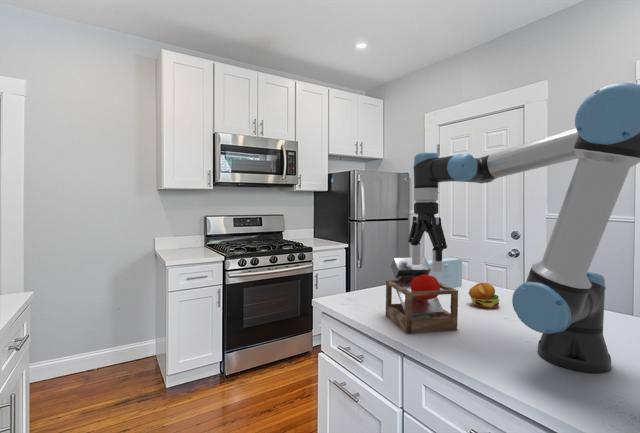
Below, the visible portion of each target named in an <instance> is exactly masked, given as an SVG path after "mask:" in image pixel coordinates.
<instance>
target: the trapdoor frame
mask: <svg viewBox="0 0 640 433" xmlns="http://www.w3.org/2000/svg"><path fill="white" fill-rule="evenodd" d="M396 283H410V282H398V281H397V279H393V280H391V279H390V280H388V279H387V280H386V281H385V317H387V318H388V319H389V320H390V321H392V322H393V324H395V325H396V326H397V327H398V328H399V329H401V331H403V332H404V333H406V334H410V335H411V334H422V333H423V334H424V333H433V332H434V333H435V332H436V333H437V332H446V331H448V332H449V331H458V322H459V321H458V316H459V315H458V314H459V312H458V311H459V310H458V309H459V308H458V306H459V290H458V289H455V288H451V287H449V286H446V285H444V284H442V283H439V285H440V288H442V289H444V290H435V291H414V292H410V291H408V290H406V289H404V288H403V287H401V286H399V285H397V284H396ZM392 289H394V290H398V291H399V292H401V293H403V294H404V295H405V312H404V309H403V307H402V304H401V303H392V301H393V299H392V298H393V297H392V293H393V292H392V291H393V290H392ZM426 295H438V296H442V295H443V296H444V295H450V312H449V311H447V310H445V309H444V308H443V310H444V312H443V313H440V314H427V315H428V316H429V317H418V318H417V317H416V318H413V315H412V296H426ZM424 315H426V314H424Z"/></svg>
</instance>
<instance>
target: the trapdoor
mask: <svg viewBox="0 0 640 433" xmlns="http://www.w3.org/2000/svg"><path fill="white" fill-rule="evenodd" d="M427 261H428V259H427V258H426V256H425V257H424V256H422V257H421V256H420V264H418V265H412V257H394V258H393V259H392V262H391V264H390V268H391V270H392V273H393V276H394V278H395V279H396V280H397V281H398V282H410V283H396V284H397V285H399V286H401V287H403V288H404V289H406V290H408V291H410V292H412V291H411V286H410V285H411V281H412V280H413V278H414V277H416V276H421V275H424V274H426V275H429V273H430V271H431V268H430V266H429V264H428V262H427ZM395 290H396V289H395ZM396 293H397V296H398V298H399V301H400V304H402V307H403V309H404V312H405V295H404V294H403V293H401V292H399V291H398V290H396ZM443 309H444V308H443V306H442V304H441V302H440V300H439V299H438V296H437V297H436V298H432V299H431V300H424V301H420V300H418V299H416V298H415V297H414V296H412V316H422V315H424V314H425V315H428V314H440V313H443V312H444V310H445V309H444V310H443Z"/></svg>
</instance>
